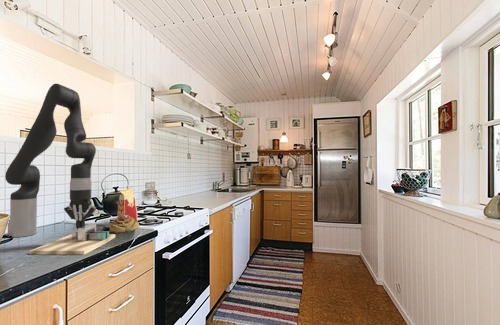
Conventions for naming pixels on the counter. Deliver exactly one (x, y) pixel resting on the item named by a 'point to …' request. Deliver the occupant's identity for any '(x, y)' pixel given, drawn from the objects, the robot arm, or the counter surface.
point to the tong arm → (94, 236)
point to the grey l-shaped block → (85, 231)
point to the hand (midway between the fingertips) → (80, 228)
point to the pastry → (123, 224)
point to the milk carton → (127, 204)
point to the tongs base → (90, 232)
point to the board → (70, 246)
